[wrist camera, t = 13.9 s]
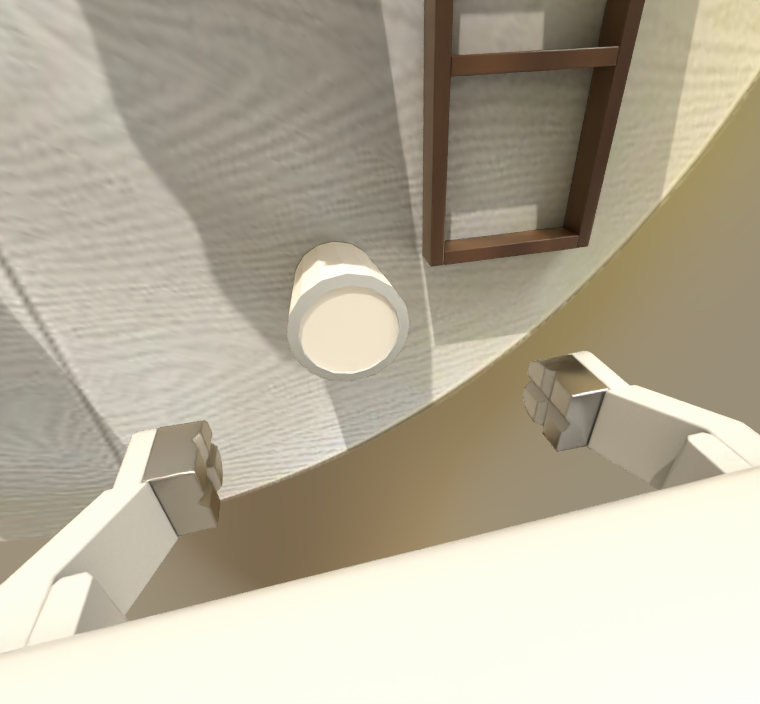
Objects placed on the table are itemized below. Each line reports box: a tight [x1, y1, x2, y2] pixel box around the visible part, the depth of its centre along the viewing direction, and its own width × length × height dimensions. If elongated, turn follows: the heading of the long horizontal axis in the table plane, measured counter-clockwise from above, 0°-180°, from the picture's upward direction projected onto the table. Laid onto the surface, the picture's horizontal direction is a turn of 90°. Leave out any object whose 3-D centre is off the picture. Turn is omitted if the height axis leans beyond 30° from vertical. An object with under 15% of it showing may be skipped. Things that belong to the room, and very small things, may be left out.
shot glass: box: [287, 241, 410, 381], centre depth 26 cm, size 7×7×7 cm
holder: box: [423, 0, 645, 266], centre depth 23 cm, size 11×22×2 cm, turn 3°
